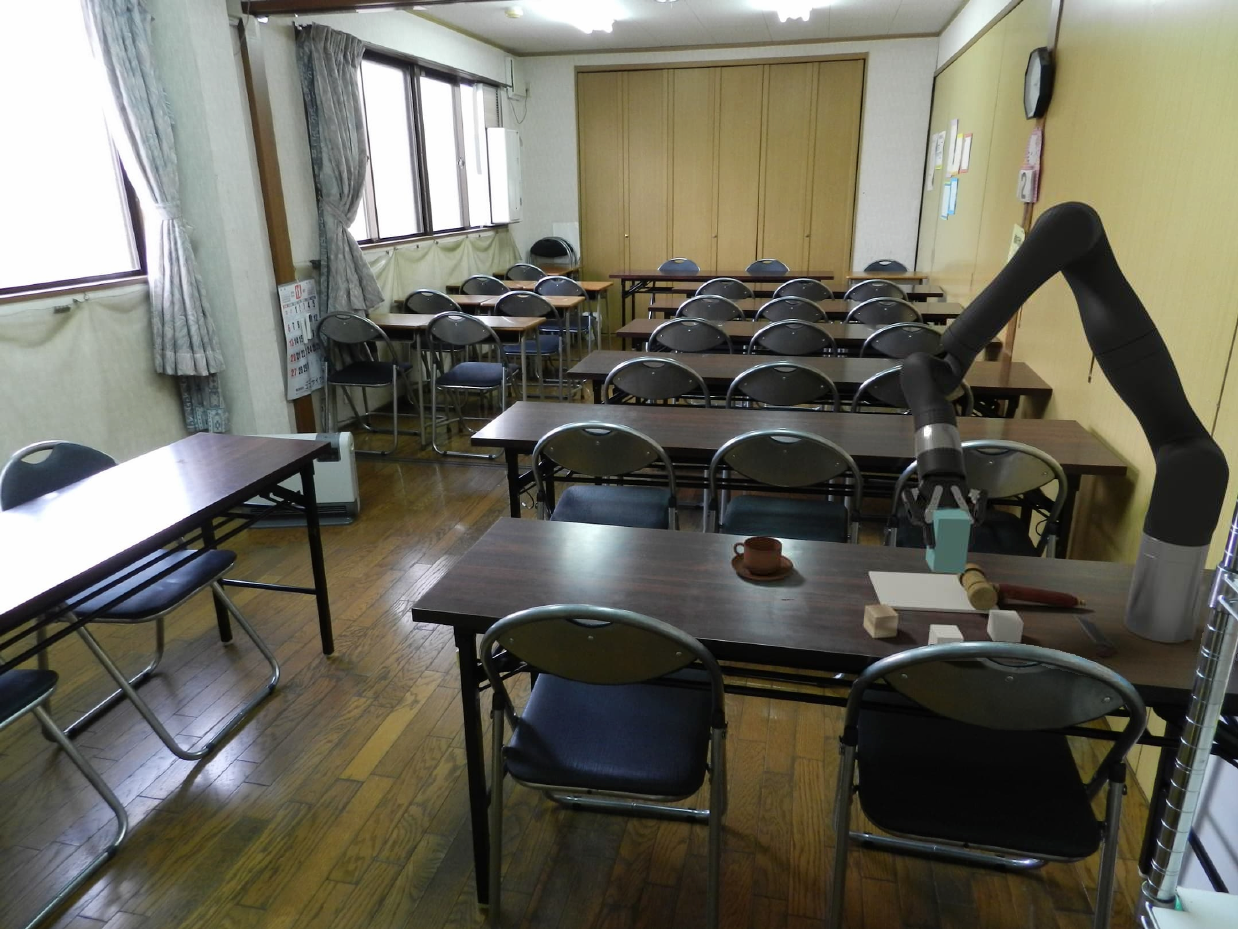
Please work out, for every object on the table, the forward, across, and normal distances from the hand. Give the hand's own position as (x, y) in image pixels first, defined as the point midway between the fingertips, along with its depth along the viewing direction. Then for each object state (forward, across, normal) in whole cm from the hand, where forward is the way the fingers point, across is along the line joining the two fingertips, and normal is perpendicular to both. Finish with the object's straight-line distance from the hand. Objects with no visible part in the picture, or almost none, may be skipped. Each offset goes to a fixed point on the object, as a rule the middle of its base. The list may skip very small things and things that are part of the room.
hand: (950, 547), depth 131 cm
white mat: (+1, +2, +21) cm, 21 cm away
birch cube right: (+12, -10, +10) cm, 19 cm away
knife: (+11, +25, +12) cm, 30 cm away
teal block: (+2, 0, +4) cm, 5 cm away
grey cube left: (+12, +10, +10) cm, 18 cm away
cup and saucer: (-3, -29, +25) cm, 38 cm away
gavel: (+3, +17, +18) cm, 25 cm away
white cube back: (+16, -1, +6) cm, 17 cm away
